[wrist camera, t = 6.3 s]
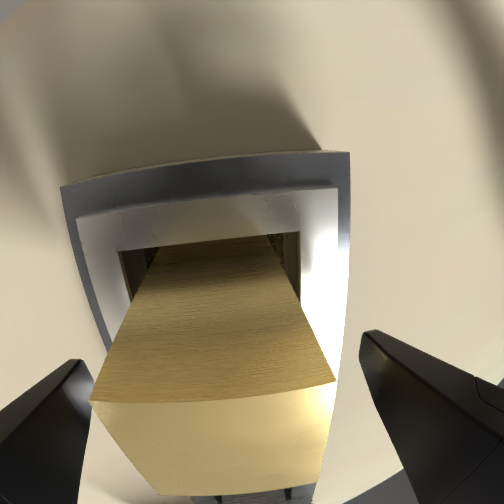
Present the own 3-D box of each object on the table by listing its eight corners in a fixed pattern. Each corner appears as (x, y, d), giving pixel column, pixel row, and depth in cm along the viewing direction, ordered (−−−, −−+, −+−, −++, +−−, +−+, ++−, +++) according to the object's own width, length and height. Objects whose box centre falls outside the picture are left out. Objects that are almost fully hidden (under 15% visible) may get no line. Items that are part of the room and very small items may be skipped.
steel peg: (275, 451, 17) (288, 510, 13) (276, 473, 19) (286, 523, 14) (219, 457, 17) (223, 517, 12) (226, 478, 18) (231, 529, 14)
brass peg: (264, 231, 12) (337, 382, 4) (270, 318, 13) (317, 481, 6) (162, 242, 11) (88, 400, 4) (181, 327, 13) (159, 494, 5)
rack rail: (322, 149, 11) (353, 152, 8) (304, 481, 20) (311, 506, 17) (90, 177, 10) (55, 188, 7) (204, 492, 19) (204, 518, 17)
